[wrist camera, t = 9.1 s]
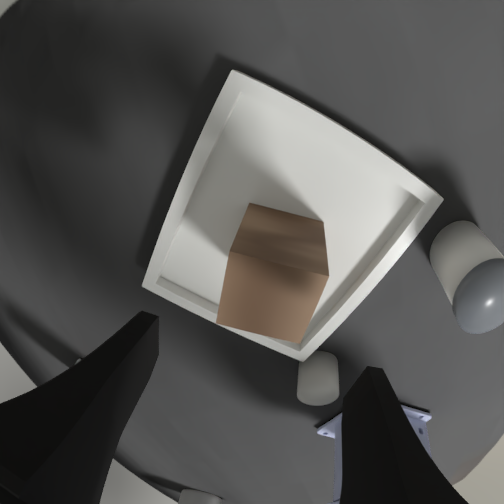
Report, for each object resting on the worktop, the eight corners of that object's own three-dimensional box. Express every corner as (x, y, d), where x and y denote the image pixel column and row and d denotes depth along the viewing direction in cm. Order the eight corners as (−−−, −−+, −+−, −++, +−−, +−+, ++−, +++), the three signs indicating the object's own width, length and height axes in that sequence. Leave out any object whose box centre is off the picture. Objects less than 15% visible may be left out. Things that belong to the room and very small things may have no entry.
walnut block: (323, 221, 16) (329, 276, 12) (302, 281, 19) (299, 343, 14) (249, 202, 17) (229, 250, 12) (235, 264, 19) (215, 323, 14)
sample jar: (494, 240, 16) (534, 288, 11) (455, 287, 18) (483, 342, 13) (456, 205, 15) (499, 252, 11) (415, 259, 17) (441, 317, 13)
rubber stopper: (345, 359, 22) (347, 390, 20) (322, 379, 24) (322, 409, 21) (313, 345, 22) (312, 377, 20) (291, 366, 24) (288, 397, 21)
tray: (434, 190, 15) (444, 199, 14) (303, 347, 22) (303, 362, 21) (237, 70, 14) (231, 69, 12) (150, 274, 21) (141, 286, 20)
